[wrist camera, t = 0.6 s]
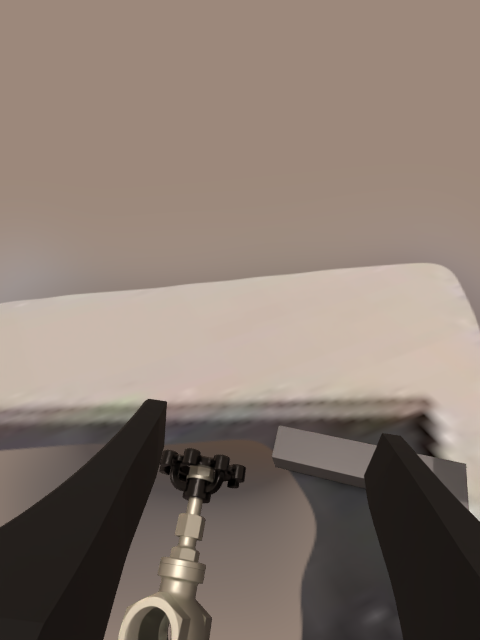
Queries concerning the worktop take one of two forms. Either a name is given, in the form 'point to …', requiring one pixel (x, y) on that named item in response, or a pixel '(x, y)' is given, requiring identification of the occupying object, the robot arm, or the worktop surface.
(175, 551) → the valve
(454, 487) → the chassis bay
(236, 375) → the worktop surface
